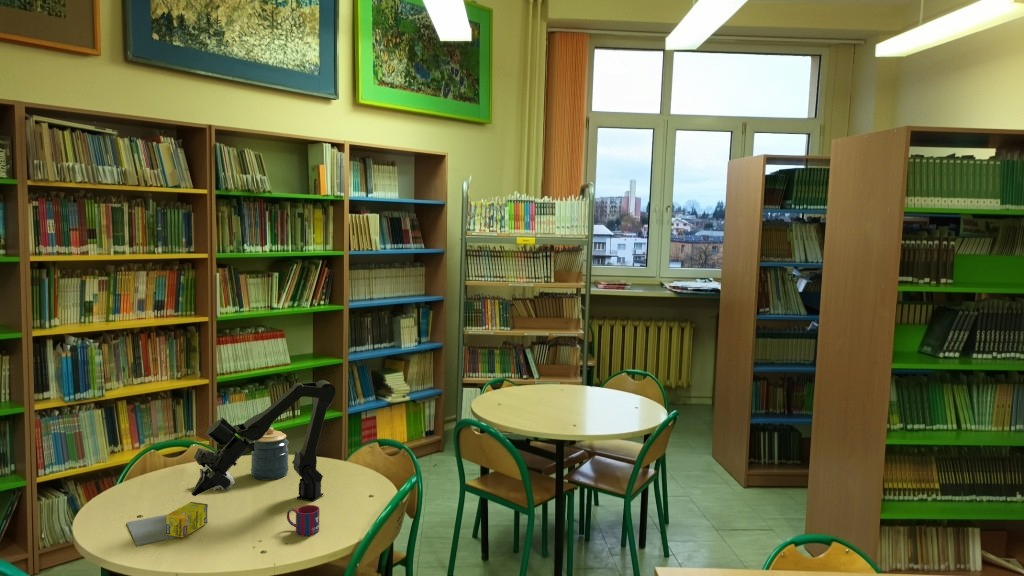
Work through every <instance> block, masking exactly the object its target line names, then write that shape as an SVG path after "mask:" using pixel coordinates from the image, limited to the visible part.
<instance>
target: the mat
mask: <svg viewBox="0 0 1024 576" xmlns="http://www.w3.org/2000/svg"><path fill="white" fill-rule="evenodd" d="M167 514H168V513H167ZM167 514H163V515H156V516H152V517H146V518H142V519H136V520H132V521H127V522H126V524H127V525H126V526H127V528H128V530H129V532H130V534H131V537H132V538H133V541H134V543H135V546H136V547H139V546H145V545H149V544H153V543H158V542H164V541H167V540H171V539H176V538H178V537H177V536H170V535H166V515H167ZM190 535H192V532H191V533H190V534H188V535H187V536H190Z"/></svg>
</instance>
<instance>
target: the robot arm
mask: <svg viewBox="0 0 1024 576" xmlns="http://www.w3.org/2000/svg"><path fill="white" fill-rule="evenodd" d="M336 393H337V389H336V387H335V386H334V384H332V383H330V382H329V381H327V380H326V379H325V380H324V379H323V380H322V379H321V380H319V381H317V382H296V383H294V384H293V385H292V386H291V388H289V389H287V391H286V392H285V393H284V394H282V395H281V396H280V397H279V398H278V399H276V401H274V402H273V403H272V404H270V405H269V407H268V408H266V409H265V410H263V411H262V412H260V413H258V414H255V415H253V416H252V417H250V418H248V419H247V420H246V421H245V422H244V423H238V424H234V425H232V424H231V423H230V422H229V421H227V420H226V419H225V417H221V418H220V419H217V420H216V421H215V422H214V423H211V425H210V426H209V427H208V428H207V430H206V431H205V435H206V436H207V437H209V438H210V439H212V440H213V441H214V442H215V443H216V444H218V445H219V446H222V445H224V446H223V448H222V449H217V450H216V451H215V452H214V451H211V450H209V449H204V448H201V447H198V448H197V450H196V452H195V454H194V456H193V459H195V461H196V463H197V464H198V465H199V466H202V468H203V469H202V468H201V467H200V468H199V473H200V474H199V476H200V477H199V479H198V480H197V482H196V485H195V486H194V488H193V489H192V491H191V495H192V496H193V497H196V496H198V495H200V494H202V493H205V492H207V491H208V490H212V488H213V487H216V486H219V485H220V486H221V487H223V488H224V489H223V490H226V489H227V490H228V489H229V488H228V487H229V486H230V480H229V478H228V477H226V476H227V474H226V472H227V471H228V472H229V470H230V469H231V468H232V466H234V467H235V466H237V464H238V463H237V461H238V460H239V459H240V458H241V457H242V455H244V453H245V452H246V451H248V449H249V450H250V451H251V452H252V451H253V452H254V451H255V447H254V445H255V443H254V442H253V441H257V440H259V439H261V438H262V437H263V436H264V434H265V433H266V432H267V431H268V430H269V428H270V427H271V426H272V425H273V423H274V422H275V421H276V420H277V419H278V418H279V417H280V416H282V415H283V414H284V413H285V412H286V411H287V410H289V408H290V407H291V406H293V405H294V404H295V403H296V402H298V400H300V399H302V397H303V398H304V397H307V398H312V405H313V406H312V410H311V415H310V418H309V422H308V426H307V430H306V433H305V438H304V442H303V446H302V448H301V449H300V450H299V451H295V452H294V458H293V460H292V462H291V463H292V464H293V470H294V471H295V472H296V474H298V476H299V477H300V479H299V483H298V496H297V497H296V499H297V500H303V501H309V502H314V501H316V500H317V499H319V498H321V497H323V496H324V495H323V494H324V493H323V492H322V480H323V478H324V476H323V474H322V473H321V472H320V471H319V470H318V469H317V463H318V461H317V460H318V459H317V448H318V444H319V441H320V437H321V433H322V430H323V426H324V425H323V424H324V422H325V419H326V418H325V417H326V414H327V410H328V409H329V407H330V406H331V404H332V402H333V401H334V398H335V396H336ZM238 436H239V437H238ZM322 495H323V496H322ZM320 496H321V497H320Z"/></svg>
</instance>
